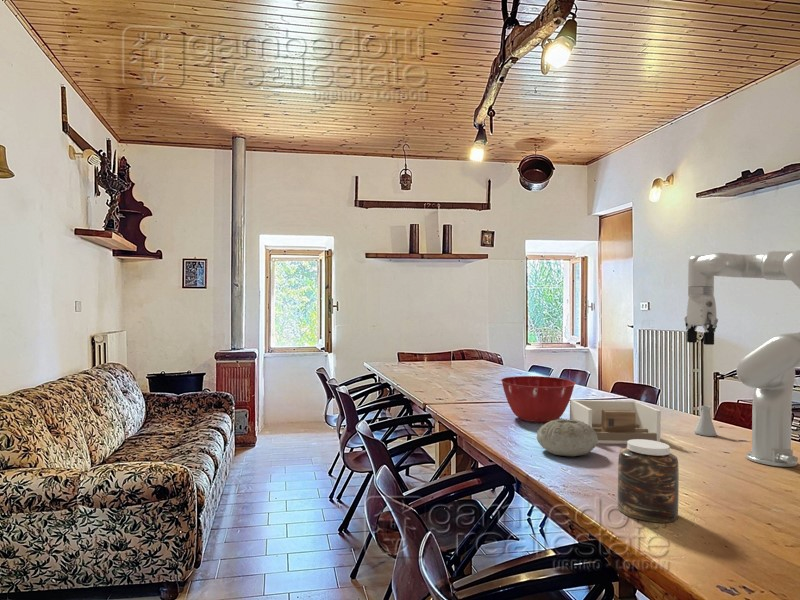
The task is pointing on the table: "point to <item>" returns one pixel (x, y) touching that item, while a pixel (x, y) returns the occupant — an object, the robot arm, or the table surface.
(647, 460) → the jar
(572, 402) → the open white box
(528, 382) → the mixing bowl
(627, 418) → the cardboard box
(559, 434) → the decorative shell
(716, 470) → the table surface
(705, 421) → the flask
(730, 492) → the table surface
